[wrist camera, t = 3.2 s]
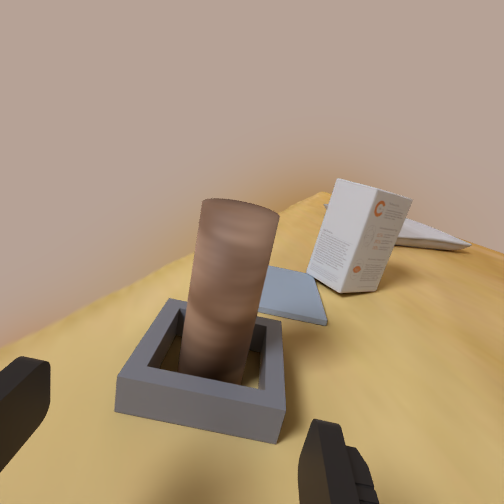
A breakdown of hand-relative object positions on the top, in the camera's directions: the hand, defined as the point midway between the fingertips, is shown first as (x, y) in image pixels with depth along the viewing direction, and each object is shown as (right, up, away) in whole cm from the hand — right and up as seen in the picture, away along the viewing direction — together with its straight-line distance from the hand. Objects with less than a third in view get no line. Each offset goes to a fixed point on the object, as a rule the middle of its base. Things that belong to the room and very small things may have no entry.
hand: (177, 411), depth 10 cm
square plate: (+38, +9, +76) cm, 86 cm away
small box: (+14, +1, +34) cm, 37 cm away
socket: (-1, -4, +13) cm, 14 cm away
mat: (+4, +1, +28) cm, 29 cm away
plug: (-1, -4, +13) cm, 14 cm away
